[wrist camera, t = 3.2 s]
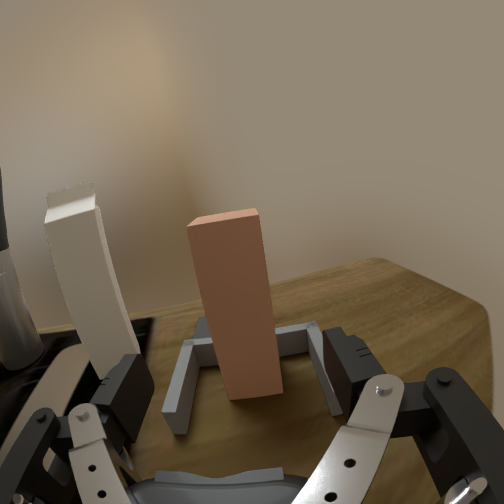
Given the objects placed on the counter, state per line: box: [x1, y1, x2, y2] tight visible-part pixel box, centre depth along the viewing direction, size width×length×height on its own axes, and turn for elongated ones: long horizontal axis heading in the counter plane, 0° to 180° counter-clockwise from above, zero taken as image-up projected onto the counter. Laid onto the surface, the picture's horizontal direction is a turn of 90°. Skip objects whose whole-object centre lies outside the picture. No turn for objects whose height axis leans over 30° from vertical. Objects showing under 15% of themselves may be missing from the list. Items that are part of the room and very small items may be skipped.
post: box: [186, 208, 283, 400], centre depth 23 cm, size 5×5×16 cm
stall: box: [162, 321, 343, 434], centre depth 23 cm, size 14×11×3 cm
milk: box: [44, 181, 140, 379], centre depth 27 cm, size 6×6×22 cm
